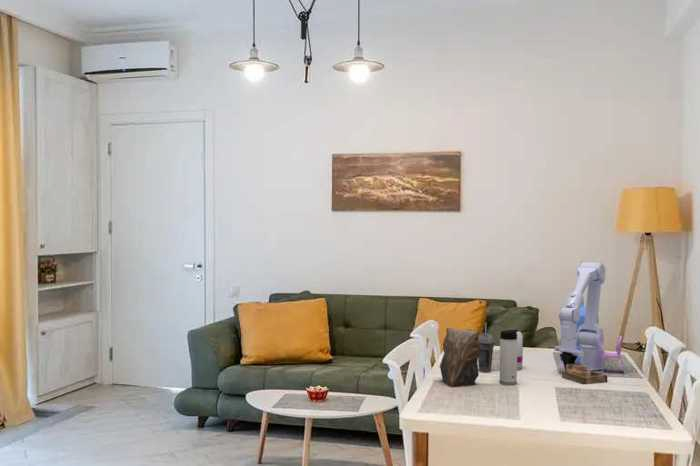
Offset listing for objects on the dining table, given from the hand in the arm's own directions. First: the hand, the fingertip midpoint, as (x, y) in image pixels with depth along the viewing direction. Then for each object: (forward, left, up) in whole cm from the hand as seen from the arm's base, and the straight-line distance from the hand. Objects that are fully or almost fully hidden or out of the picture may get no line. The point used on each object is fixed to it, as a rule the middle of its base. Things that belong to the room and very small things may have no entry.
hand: (568, 372), depth 272 cm
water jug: (-25, -22, -2) cm, 33 cm away
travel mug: (+31, +3, -1) cm, 31 cm away
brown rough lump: (+50, -3, -2) cm, 50 cm away
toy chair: (-21, +2, -2) cm, 21 cm away
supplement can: (+13, -19, -1) cm, 23 cm away
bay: (0, +8, -1) cm, 8 cm away
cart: (0, +6, -1) cm, 6 cm away
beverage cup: (+27, -18, -1) cm, 32 cm away
